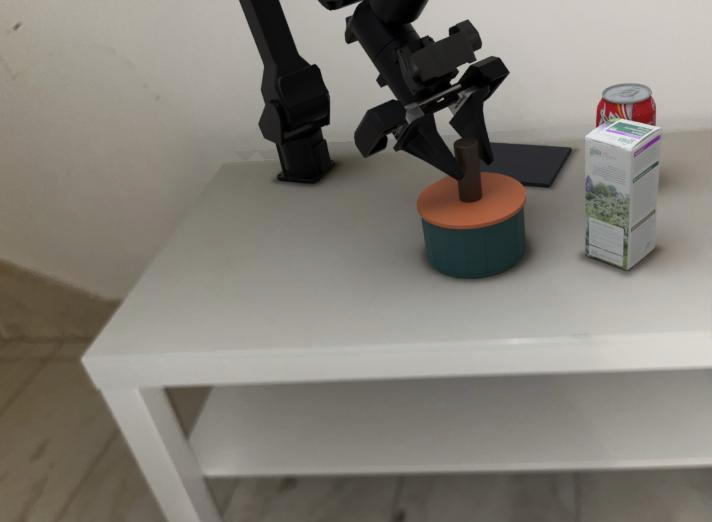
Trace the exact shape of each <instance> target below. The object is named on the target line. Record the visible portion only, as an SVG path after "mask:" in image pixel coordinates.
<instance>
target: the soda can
mask: <svg viewBox="0 0 712 522" xmlns="http://www.w3.org/2000/svg"><path fill="white" fill-rule="evenodd" d="M652 94H653V91H652V89H651V87H649V86H647V85H645V84H641V83H635V82H624V83H623V82H622V83H616V84H613V85H610V86H608V87H606V88H605V89H604V90H602V92H601V98H600V100H599V102H598V104H597V106H596V113H595V128H597V127H598V126H600V125H601V124H603V123H605V122H606V121H609V120H610V119H612V118H615V117H616V118H621V119H625V120H630V121H634V122H639V123H643V124H647V125H651V126H656V127H657V105H656V101H655V99H654V98H653V96H652Z"/></svg>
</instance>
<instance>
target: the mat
mask: <svg viewBox="0 0 712 522" xmlns="http://www.w3.org/2000/svg"><path fill="white" fill-rule="evenodd" d="M490 145H491V149H492V153H493V156H494V162H493V163H492V164H491V165H486V164H485V163H484V162H483V161H482V160H481V159H480V158H479V161H480V172H490V173H497V174H502V175H506V176H509V177H512V178H514V179H515V180H517V181H519V182H520V183H521V184H522V185H523V186H528V187H529V186H530V187H540V188H541V187H543V188H550V187H551V185H552V183H553V182H554V180H555V178H556V177H557V175H558V174H559V172H560V170H561V169H562V168H563V165H564V164H565V162H566V160H567V159H568V157H569V156H570V154H571V153H572V147H570V146H554V145H541V144H538V145H537V144H524V143H509V142H508V143H507V142H493V141H492V142H491V141H490Z"/></svg>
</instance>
